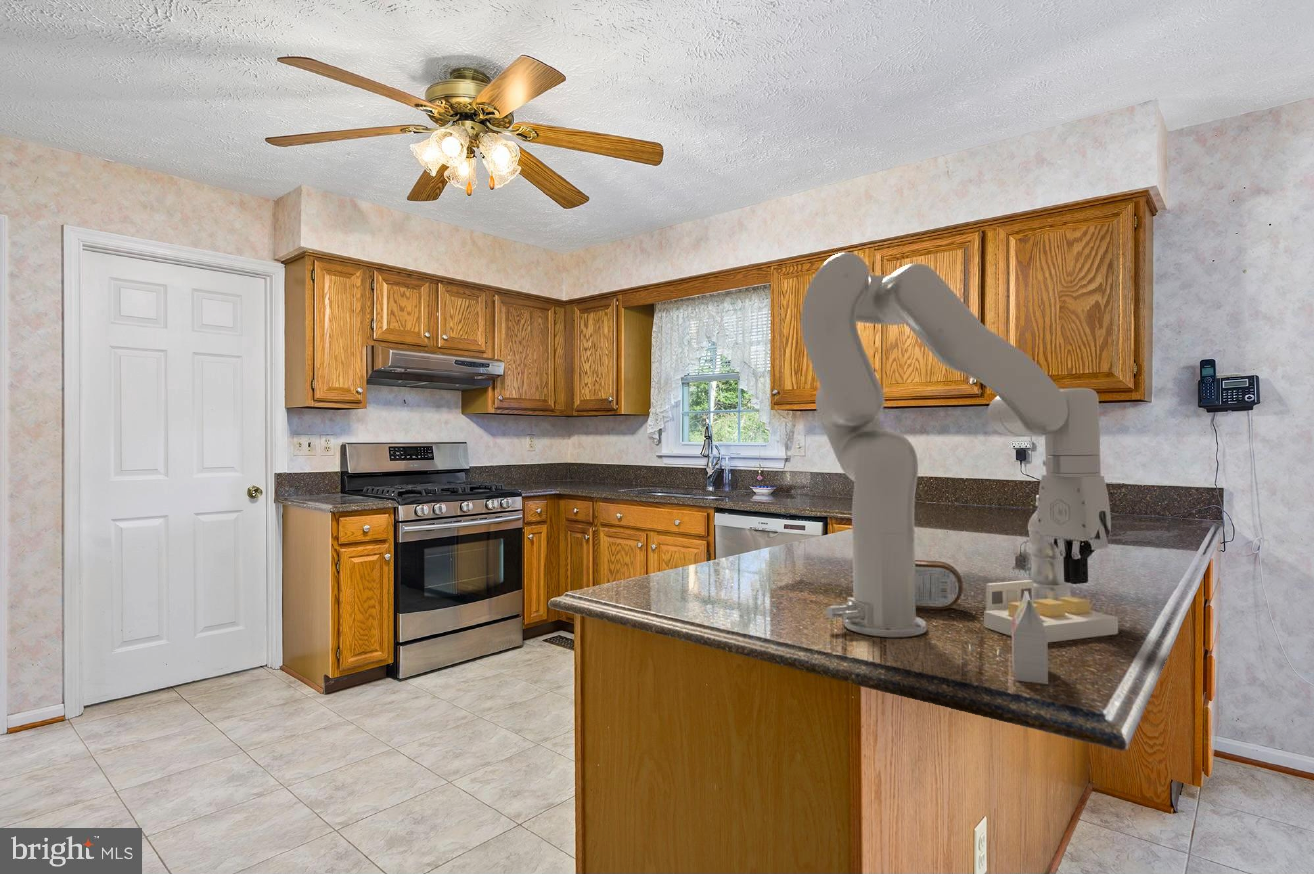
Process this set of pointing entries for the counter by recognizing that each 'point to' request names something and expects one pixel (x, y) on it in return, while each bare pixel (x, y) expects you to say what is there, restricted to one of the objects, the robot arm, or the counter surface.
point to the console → (1059, 625)
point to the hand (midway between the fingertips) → (1076, 582)
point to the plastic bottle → (1046, 565)
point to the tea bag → (1029, 644)
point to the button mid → (1050, 608)
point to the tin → (937, 585)
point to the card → (1006, 593)
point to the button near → (1014, 606)
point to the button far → (1076, 605)
